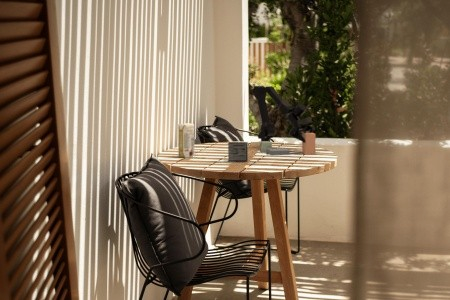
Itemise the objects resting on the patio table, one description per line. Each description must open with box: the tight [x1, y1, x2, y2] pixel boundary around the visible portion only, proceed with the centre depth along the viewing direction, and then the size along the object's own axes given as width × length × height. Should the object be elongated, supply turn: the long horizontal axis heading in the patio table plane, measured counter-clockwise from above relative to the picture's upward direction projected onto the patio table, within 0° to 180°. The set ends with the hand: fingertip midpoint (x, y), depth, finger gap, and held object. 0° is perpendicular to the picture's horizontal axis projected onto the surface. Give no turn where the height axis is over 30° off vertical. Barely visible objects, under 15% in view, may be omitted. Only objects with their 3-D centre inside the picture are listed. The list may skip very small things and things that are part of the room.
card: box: [291, 148, 302, 153], centre depth 477 cm, size 8×8×1 cm
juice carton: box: [177, 122, 195, 159], centre depth 450 cm, size 8×9×19 cm
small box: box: [227, 141, 249, 163], centre depth 434 cm, size 11×6×10 cm, turn 84°
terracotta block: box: [301, 132, 317, 155], centre depth 464 cm, size 6×6×12 cm
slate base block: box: [265, 147, 291, 156], centre depth 463 cm, size 11×11×3 cm
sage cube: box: [258, 140, 273, 153], centre depth 473 cm, size 6×6×6 cm
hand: (309, 141), depth 463 cm, fingers open, 9 cm apart
